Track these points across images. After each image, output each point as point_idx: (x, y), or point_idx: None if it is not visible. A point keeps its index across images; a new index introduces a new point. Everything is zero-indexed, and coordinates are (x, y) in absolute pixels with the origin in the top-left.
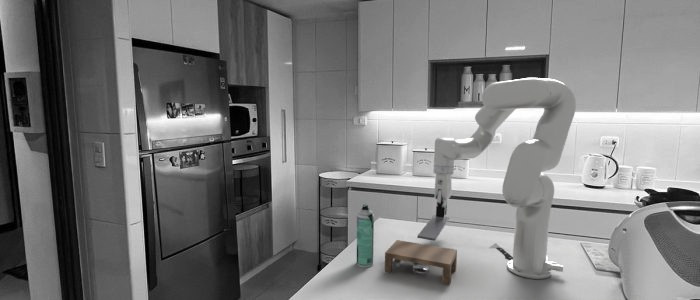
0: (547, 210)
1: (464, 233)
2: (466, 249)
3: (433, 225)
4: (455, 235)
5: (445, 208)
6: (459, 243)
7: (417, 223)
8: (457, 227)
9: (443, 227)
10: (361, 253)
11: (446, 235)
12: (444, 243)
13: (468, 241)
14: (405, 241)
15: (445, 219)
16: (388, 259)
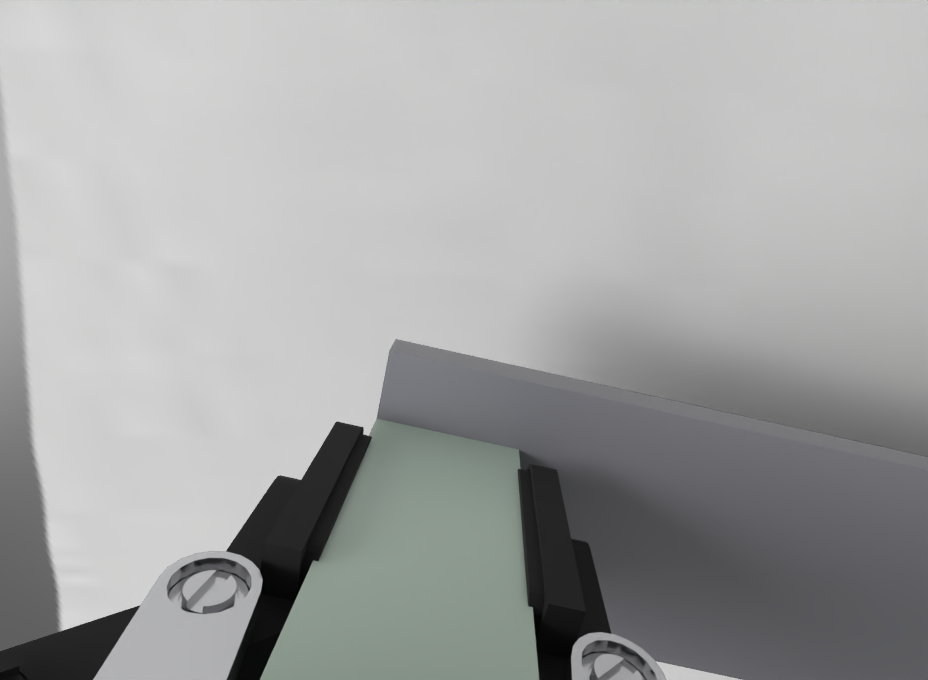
0: None
1: (220, 52)
2: (806, 66)
3: (912, 615)
4: (334, 178)
5: (359, 520)
6: (608, 144)
7: (79, 570)
8: (18, 135)
9: (894, 451)
10: None
11: (365, 287)
12: (636, 319)
13: (515, 17)
14: None
15: (546, 421)
16: None
